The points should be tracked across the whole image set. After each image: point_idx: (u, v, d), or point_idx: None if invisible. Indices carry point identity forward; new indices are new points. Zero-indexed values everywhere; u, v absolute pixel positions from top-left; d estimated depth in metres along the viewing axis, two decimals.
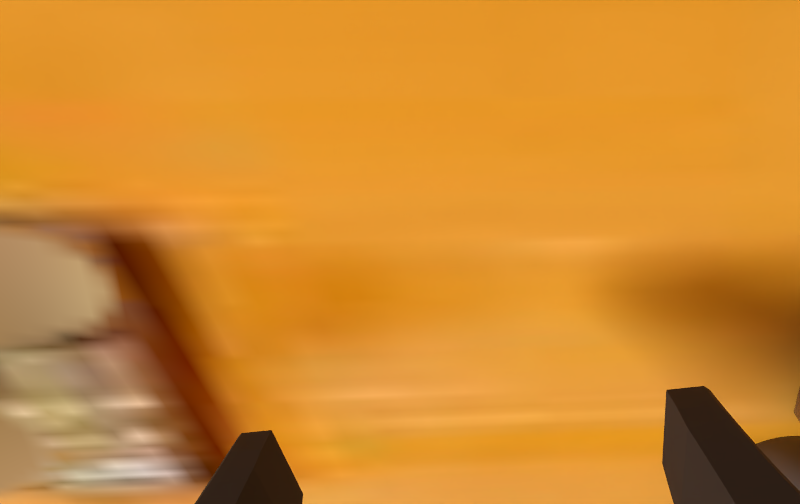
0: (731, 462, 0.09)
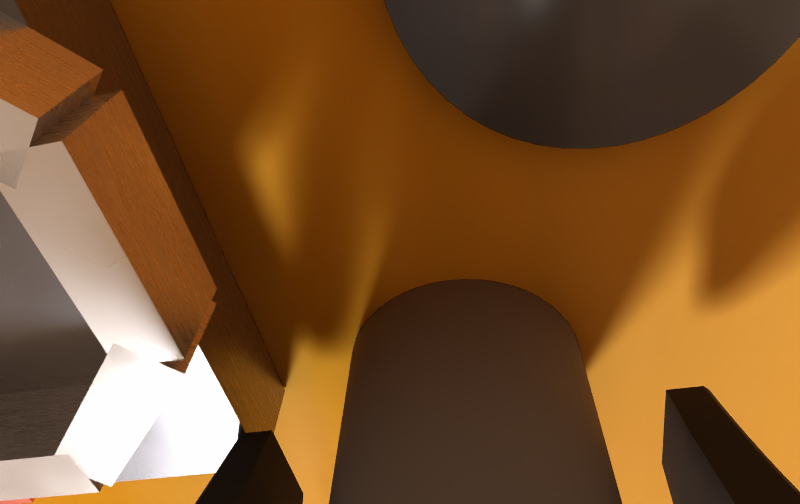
0: (731, 462, 0.09)
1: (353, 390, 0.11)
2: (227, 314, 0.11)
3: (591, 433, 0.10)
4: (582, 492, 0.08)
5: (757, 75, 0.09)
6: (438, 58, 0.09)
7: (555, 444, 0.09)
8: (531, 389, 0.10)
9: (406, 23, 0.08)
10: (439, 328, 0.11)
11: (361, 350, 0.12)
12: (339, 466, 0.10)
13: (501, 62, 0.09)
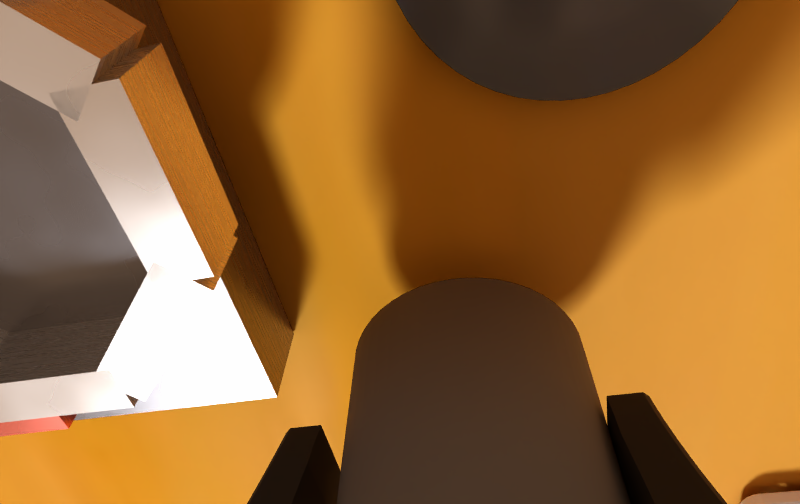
0: (659, 468, 0.09)
1: (358, 390, 0.11)
2: (244, 256, 0.13)
3: (599, 430, 0.10)
4: (591, 488, 0.08)
5: (705, 34, 0.10)
6: (430, 20, 0.10)
7: (563, 441, 0.09)
8: (538, 386, 0.10)
9: None
10: (445, 327, 0.11)
11: (365, 350, 0.12)
12: (346, 466, 0.10)
13: (485, 23, 0.10)
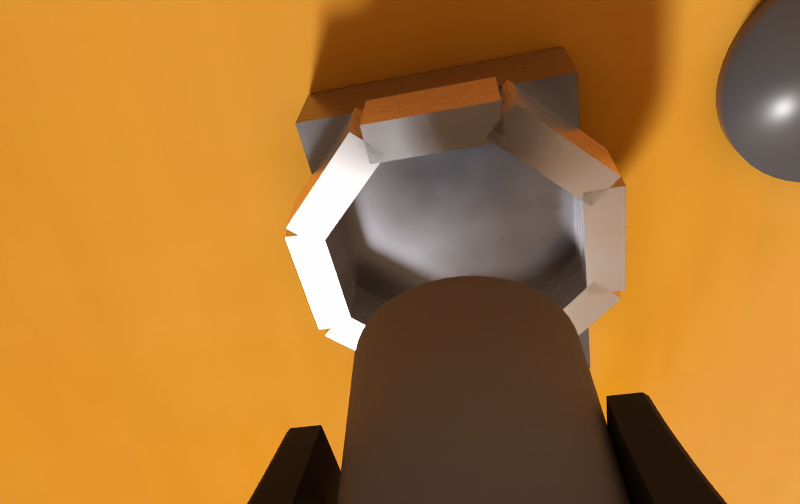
0: (658, 468, 0.09)
1: (357, 390, 0.11)
2: None
3: (594, 422, 0.10)
4: (587, 481, 0.08)
5: None
6: (744, 137, 0.17)
7: (558, 435, 0.09)
8: (532, 380, 0.10)
9: (733, 120, 0.16)
10: (440, 325, 0.11)
11: (363, 350, 0.12)
12: (346, 466, 0.10)
13: (777, 139, 0.17)
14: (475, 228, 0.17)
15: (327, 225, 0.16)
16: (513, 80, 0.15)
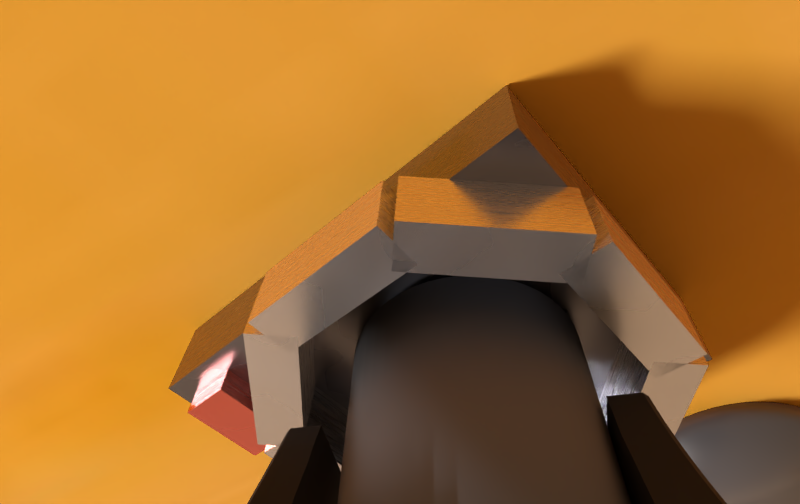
0: (658, 468, 0.09)
1: (357, 390, 0.11)
2: None
3: (594, 422, 0.10)
4: (587, 480, 0.08)
5: None
6: None
7: (558, 435, 0.09)
8: (532, 380, 0.10)
9: None
10: (440, 325, 0.11)
11: (363, 350, 0.12)
12: (346, 465, 0.10)
13: None
14: None
15: (433, 266, 0.10)
16: None
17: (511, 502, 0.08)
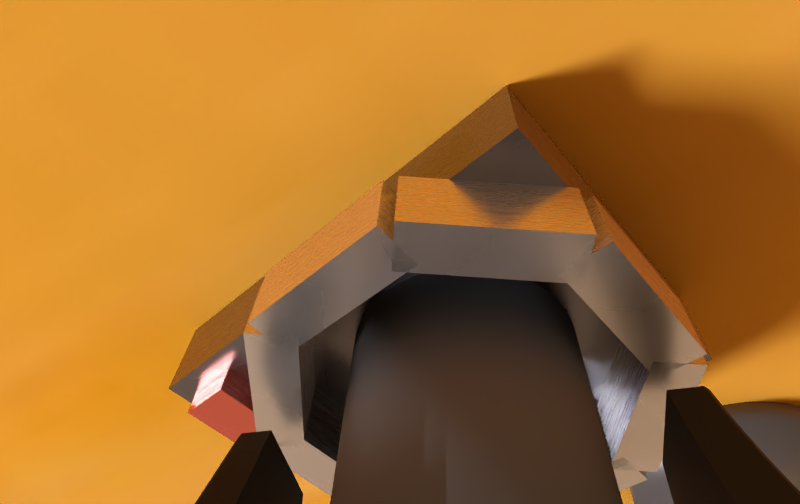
0: (731, 462, 0.09)
1: (354, 376, 0.11)
2: None
3: (584, 409, 0.10)
4: (572, 463, 0.09)
5: None
6: (661, 464, 0.17)
7: (547, 419, 0.09)
8: (523, 367, 0.10)
9: None
10: (436, 313, 0.11)
11: (362, 338, 0.12)
12: (342, 447, 0.10)
13: None
14: None
15: (433, 266, 0.10)
16: None
17: (497, 481, 0.08)
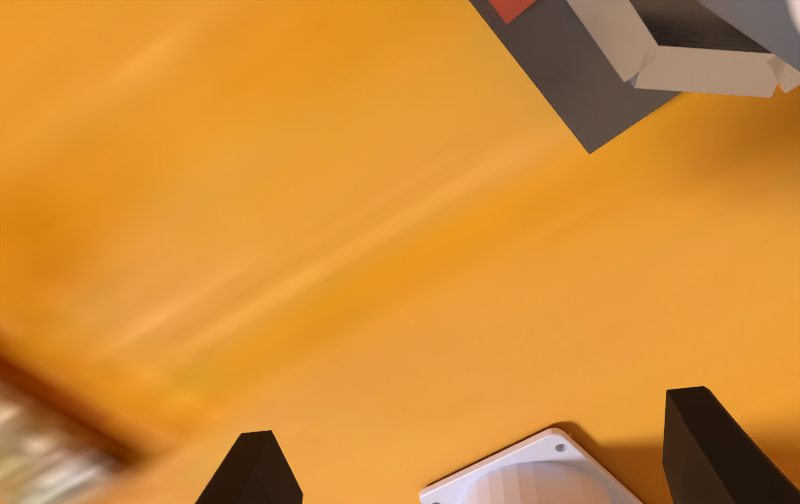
0: (731, 462, 0.09)
1: None
2: None
3: None
4: None
5: None
6: None
7: None
8: None
9: None
10: None
11: None
12: None
13: None
14: None
15: None
16: None
17: None
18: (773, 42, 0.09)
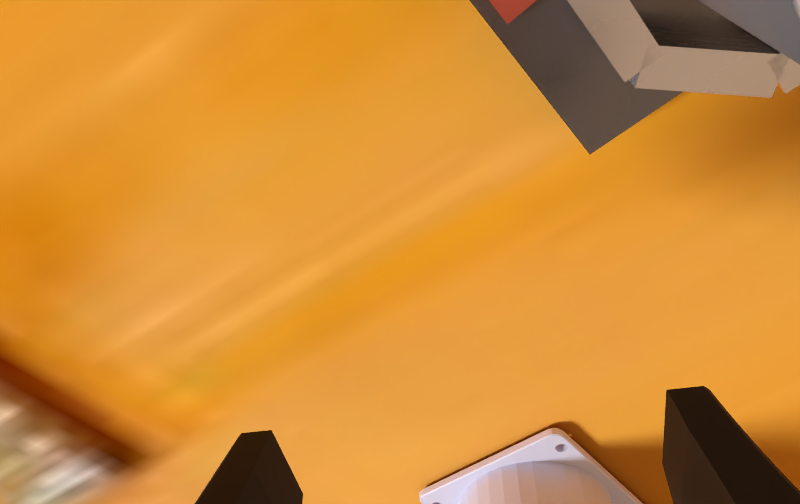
0: (731, 462, 0.09)
1: None
2: None
3: None
4: None
5: None
6: None
7: None
8: None
9: None
10: None
11: None
12: None
13: None
14: None
15: None
16: None
17: None
18: (780, 39, 0.09)
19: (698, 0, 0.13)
